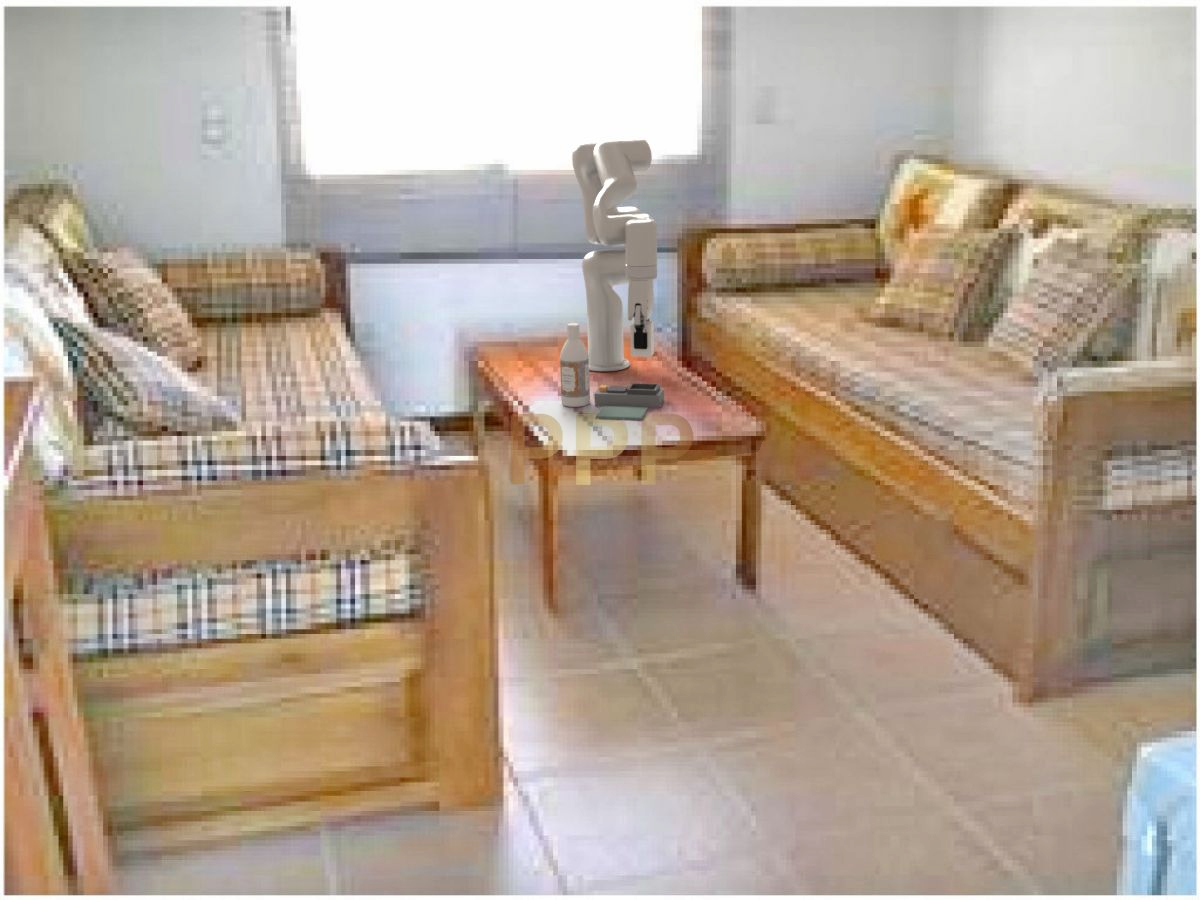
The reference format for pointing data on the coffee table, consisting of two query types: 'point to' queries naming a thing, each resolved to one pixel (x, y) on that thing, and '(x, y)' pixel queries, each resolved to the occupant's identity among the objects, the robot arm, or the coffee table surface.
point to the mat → (622, 412)
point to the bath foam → (574, 370)
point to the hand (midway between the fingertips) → (642, 345)
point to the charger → (650, 341)
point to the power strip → (630, 395)
